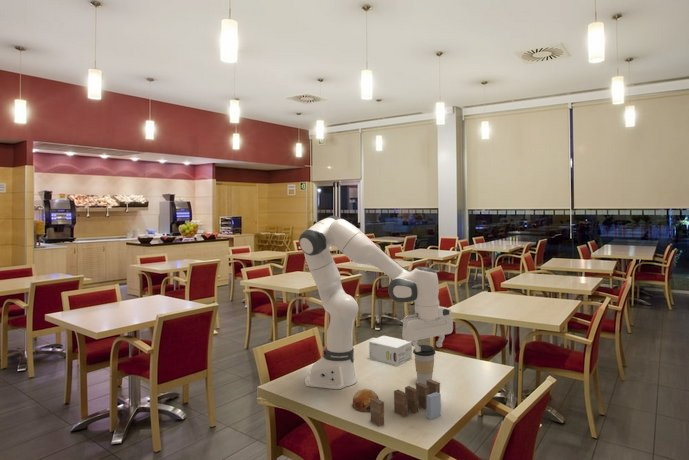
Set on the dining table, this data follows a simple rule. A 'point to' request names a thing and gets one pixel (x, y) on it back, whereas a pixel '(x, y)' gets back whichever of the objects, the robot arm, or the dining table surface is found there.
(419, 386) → the domino
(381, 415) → the domino
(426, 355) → the coffee cup
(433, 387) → the domino
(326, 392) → the dining table surface
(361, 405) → the bread roll
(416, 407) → the domino
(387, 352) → the supplement box
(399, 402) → the domino
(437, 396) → the domino
